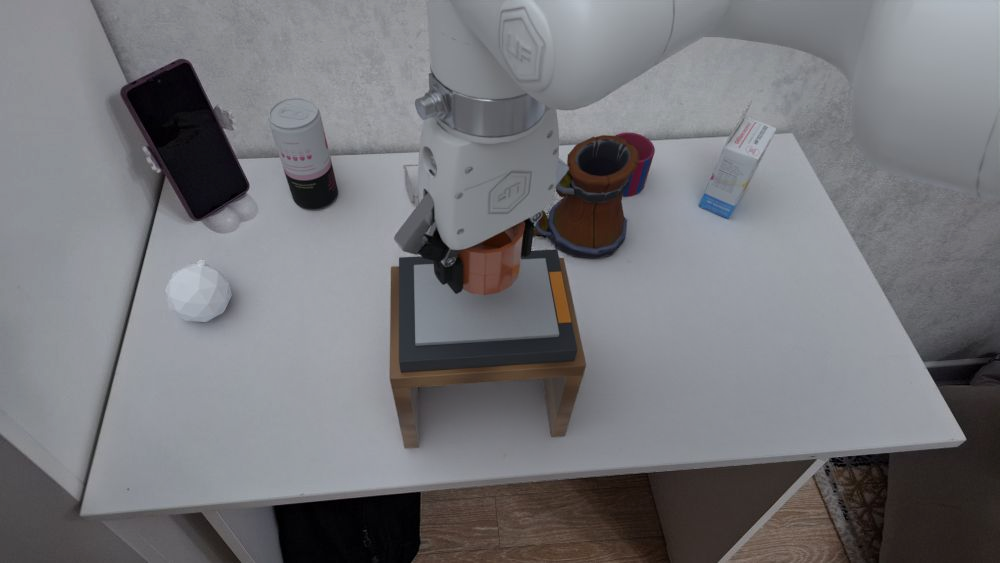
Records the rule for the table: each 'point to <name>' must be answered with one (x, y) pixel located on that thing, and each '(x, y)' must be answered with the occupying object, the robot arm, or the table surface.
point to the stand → (484, 375)
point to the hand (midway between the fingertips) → (484, 262)
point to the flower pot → (493, 262)
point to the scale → (484, 319)
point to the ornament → (198, 292)
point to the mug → (591, 198)
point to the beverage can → (303, 152)
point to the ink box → (736, 164)
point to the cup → (645, 160)
